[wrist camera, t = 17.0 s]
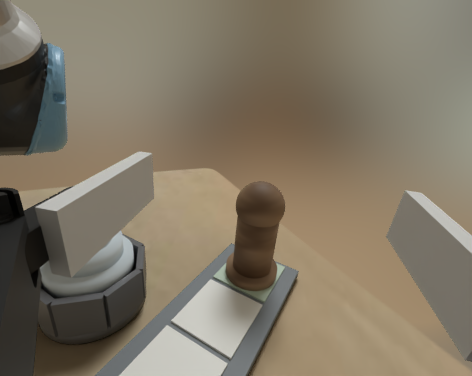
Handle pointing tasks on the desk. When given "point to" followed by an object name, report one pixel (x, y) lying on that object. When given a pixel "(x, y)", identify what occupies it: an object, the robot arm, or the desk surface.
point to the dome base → (95, 307)
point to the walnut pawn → (256, 237)
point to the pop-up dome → (93, 271)
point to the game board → (206, 328)
